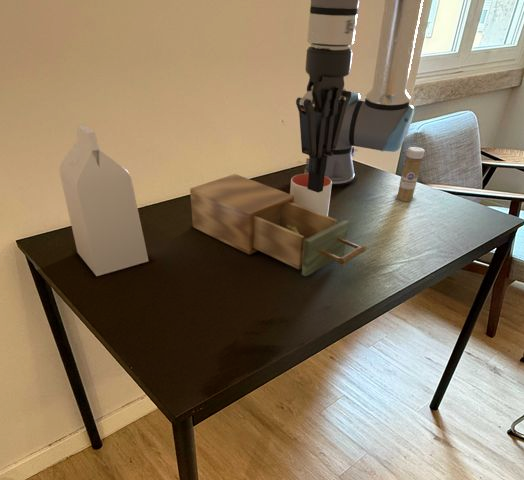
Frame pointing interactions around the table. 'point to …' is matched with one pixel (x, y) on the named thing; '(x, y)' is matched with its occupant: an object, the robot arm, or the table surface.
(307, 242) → the drawer
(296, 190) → the cup
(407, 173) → the sprinkles bottle
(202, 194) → the cabinet
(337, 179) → the robot arm
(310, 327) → the table surface
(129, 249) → the milk
